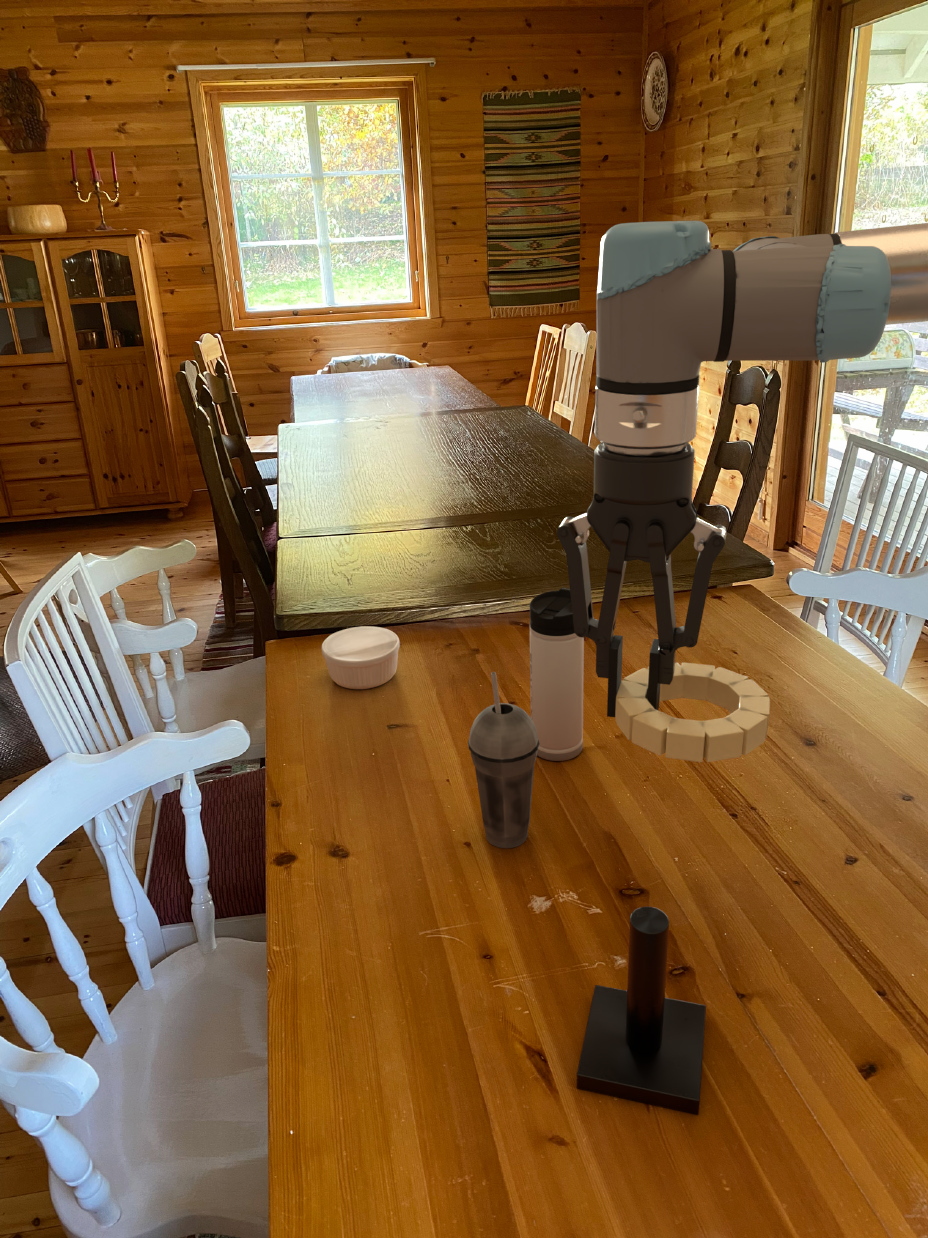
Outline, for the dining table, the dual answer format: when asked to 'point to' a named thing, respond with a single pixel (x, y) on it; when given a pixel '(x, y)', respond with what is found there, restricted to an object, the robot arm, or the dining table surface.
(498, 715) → the beverage cup
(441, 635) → the dining table surface
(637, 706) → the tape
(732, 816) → the dining table surface
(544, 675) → the travel mug
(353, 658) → the ramekin
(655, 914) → the stand
